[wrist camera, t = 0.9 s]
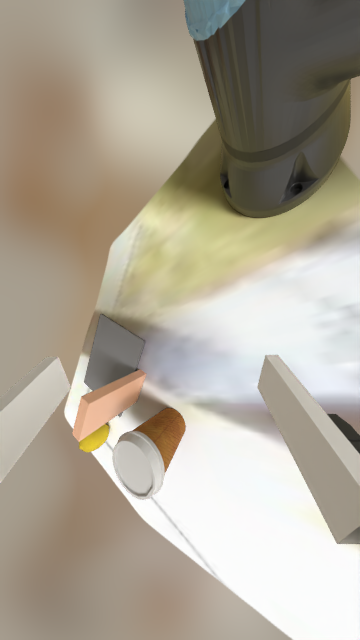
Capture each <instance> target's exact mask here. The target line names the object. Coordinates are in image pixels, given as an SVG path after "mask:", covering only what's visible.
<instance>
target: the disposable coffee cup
mask: <svg viewBox="0 0 360 640" xmlns="http://www.w3.org/2000/svg"><path fill="white" fill-rule="evenodd" d="M184 432H185V422H184V419H183V417H182V416H181V414H180V413H179V412H178V411H176V410H175V409H172V408H166V409H164V410H162V411H161V412H160V413H158V414H156V415H155V416H154V417H152V418H150V419H149V420H148V421H146V422H145V423H143V424H142V425H140V426H139V427H137V428H136V429H134V430H133V431H130V432H126V433H124V434H123V435H122V436H121V437H120V438H119V440H118V443H117V444H116V445H115V447H114V450H113V465H114V469H115V472H116V474H117V477H118V479H119V480H120V482H121V484H122V485H123V487H124V488H125V489H126V490H127V491H128V492H129V493H130V494H131V495H132V496H134V497H136V498H138V499H141V500H145V499H149V498H150V497H151V496H152V495H153V494H156V493H157V492H158V491H159V490H160V489H161V487H162V484H163V480H164V475H165V472H166V470H167V468H168V466H169V464H170V461H171V460H172V458H173V455H174V453H175V451H176V449H177V447H178V445H179V443H180V441H181V439H182V437H183V434H184Z"/></svg>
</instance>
